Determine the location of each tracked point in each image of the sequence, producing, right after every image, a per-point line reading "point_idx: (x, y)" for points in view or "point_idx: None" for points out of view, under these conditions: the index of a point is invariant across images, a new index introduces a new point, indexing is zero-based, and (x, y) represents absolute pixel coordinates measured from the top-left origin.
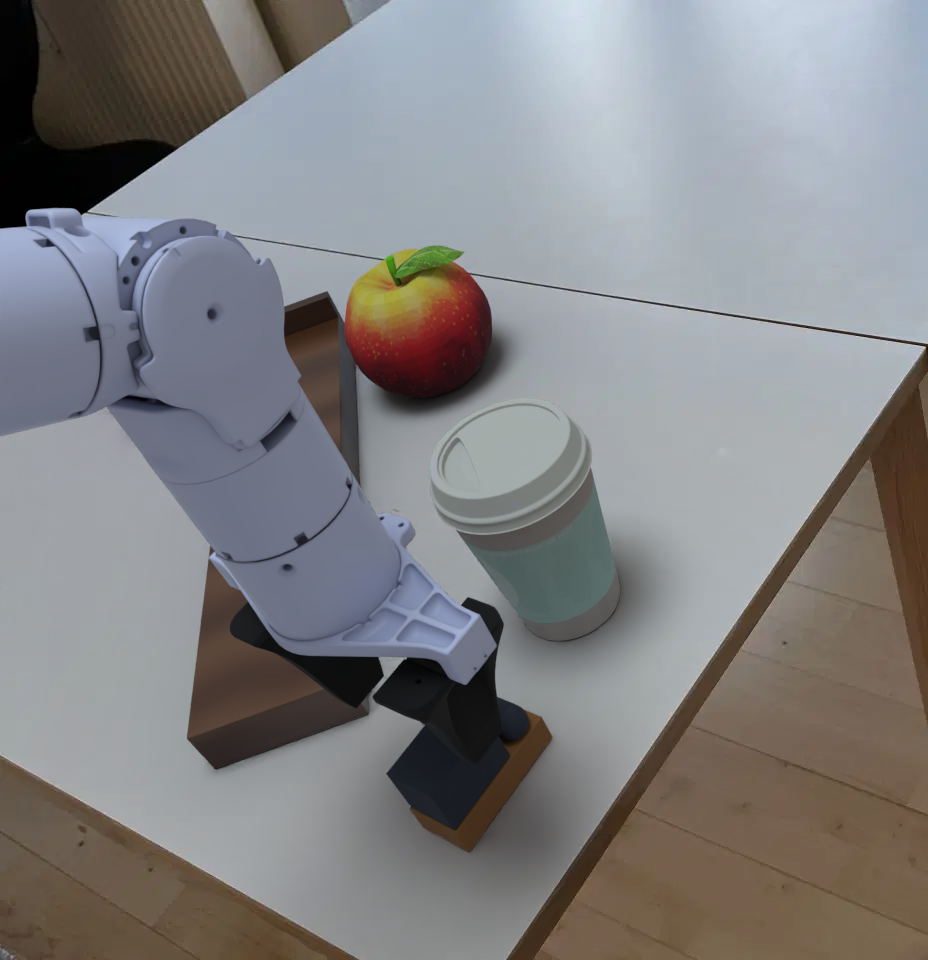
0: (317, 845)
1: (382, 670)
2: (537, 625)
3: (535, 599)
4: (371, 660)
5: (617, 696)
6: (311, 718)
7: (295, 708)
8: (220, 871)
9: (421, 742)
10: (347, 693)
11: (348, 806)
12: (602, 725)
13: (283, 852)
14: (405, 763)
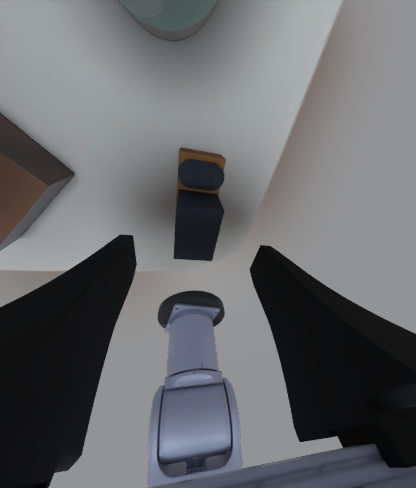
0: None
1: (130, 237)
2: (167, 33)
3: (187, 9)
4: (124, 252)
5: (257, 103)
6: (45, 202)
7: (31, 211)
8: None
9: (182, 237)
10: (131, 278)
11: (126, 230)
12: (251, 135)
13: None
14: (182, 251)
